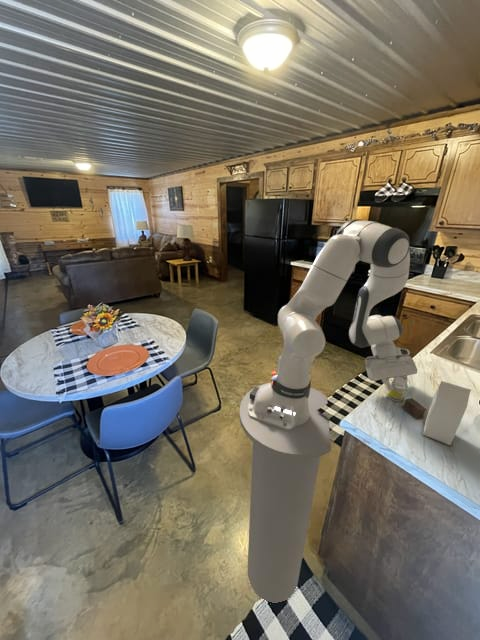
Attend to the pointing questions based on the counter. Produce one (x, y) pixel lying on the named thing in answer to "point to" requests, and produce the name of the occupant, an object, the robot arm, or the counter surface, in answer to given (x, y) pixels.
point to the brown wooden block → (414, 408)
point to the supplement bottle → (397, 389)
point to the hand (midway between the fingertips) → (398, 389)
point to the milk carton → (446, 412)
